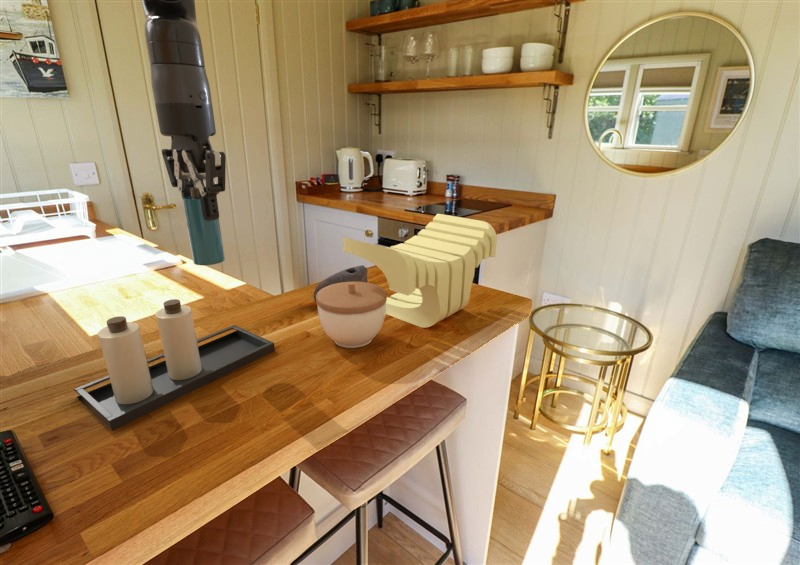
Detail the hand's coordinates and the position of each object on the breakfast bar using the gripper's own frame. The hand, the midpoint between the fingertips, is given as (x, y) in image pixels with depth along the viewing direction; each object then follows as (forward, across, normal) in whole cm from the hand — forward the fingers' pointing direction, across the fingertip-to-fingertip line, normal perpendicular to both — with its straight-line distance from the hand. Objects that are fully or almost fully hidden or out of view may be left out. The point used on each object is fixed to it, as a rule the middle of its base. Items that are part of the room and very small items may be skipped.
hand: (202, 216), depth 67 cm
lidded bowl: (+24, +17, +16) cm, 33 cm away
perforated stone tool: (+24, +3, +28) cm, 37 cm away
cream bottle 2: (+23, +3, -9) cm, 25 cm away
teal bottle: (+7, 0, 0) cm, 7 cm away
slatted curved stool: (+24, +20, +35) cm, 47 cm away
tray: (+23, +3, -9) cm, 25 cm away
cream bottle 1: (+23, +3, -16) cm, 28 cm away
